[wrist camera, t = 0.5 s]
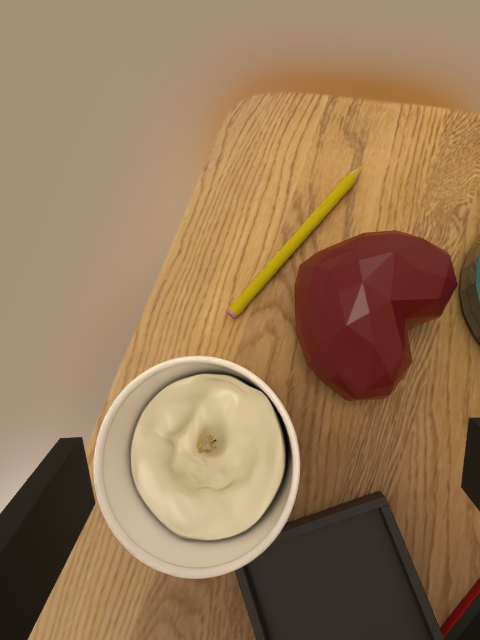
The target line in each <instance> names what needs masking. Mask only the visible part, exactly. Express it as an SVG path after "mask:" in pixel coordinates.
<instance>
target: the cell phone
mask: <svg viewBox="0 0 480 640" xmlns="http://www.w3.org/2000/svg"><path fill="white" fill-rule="evenodd" d="M440 630H441V633H442V635H443V638H444V640H480V579H479V580H478V581H477V583H476V584H475V585H474V586H473V588H472V589H471V590H470V591H469V593H468V594H467V595H466V596H465V598H464V599H463V600H462V601H461V603H460V604H459V605H458V606H457V608H456V609H455V610H454V611H453V613H452V614H451V615H450V616H449V618H448V619H447V620H446V621H445V623H444V624H443V625H442V626H441V628H440Z"/></svg>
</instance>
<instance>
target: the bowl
mask: <svg viewBox="0 0 480 640" xmlns="http://www.w3.org/2000/svg"><path fill="white" fill-rule="evenodd" d="M460 293H461V294H460V297H461V302H462V306H463V311H464V316H465V318H466V320H467V322H468V324H469V326H470V328H471V329H472V331H473V333H474V335H475V337H476V338H477V340H478V341H479V342H480V239H479V240H478V241H477V242H476V244H475V245H474V246H473V247H472V249H471V250H470V251H469V254H468V256H467V259H466V261H465V264H464V266H463V269H462V274H461V287H460Z"/></svg>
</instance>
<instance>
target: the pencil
mask: <svg viewBox="0 0 480 640" xmlns="http://www.w3.org/2000/svg"><path fill="white" fill-rule="evenodd" d="M361 168H362V166H361V167H359V168H357V169H356V170H354V171H352V172H350V173H349V174H347V175H346V176H345V177H344V178H343V179H342V180H341V182H340V183H339V184H338V185H337V186H336V187H335V188H334V189H333V191H332V192H331V193H330V194H329V195H328V196H327V197H326V198H325V200H324V201H323V202H322V203H321V204H320V205H319V206H318V208H317V209H316V210H315V211H314V212H313V213H312V214H311V215H310V217H309V218H308V219H307V220H306V221H305V222H304V223H303V224H302V226H301V227H300V228H299V229H298V230H297V231H296V232H295V233H294V235H293V236H292V237H291V238H290V239H289V240H288V241H287V243H286V244H285V245H284V246H283V247H282V248H281V249H280V250H279V252H278V253H277V254H276V255H275V256H274V257H273V258H272V259H271V261H270V262H269V263H268V264H267V265H266V266H265V267H264V268H263V270H262V271H261V272H260V273H259V274H258V275H257V276H256V277H255V279H254V280H253V281H252V282H251V283H250V284H249V285H248V287H247V288H246V289H245V290H244V291H243V292H242V293H241V294H240V296H239V297H238V298H237V299H236V300H235V301H234V302H233V303H232V305H231V306H230V307H229V308H228V309H227V310H226V311H227V312H228V313H229V314H230V315H231V316H232V317H233V318H236V317H237V316H238V315H239V314H240V313H241V312H242V311H243V310H244V308H245V307H246V306H247V305H248V304H249V303H250V302H251V300H252V299H253V298H254V297H255V296H256V295H257V294H258V293H259V291H260V290H261V289H262V288H263V287H264V286H265V285H266V283H267V282H268V281H269V280H270V279H271V278H272V277H273V276H274V274H275V273H276V272H277V271H278V270H279V269H280V268H281V266H282V265H283V264H284V263H285V262H286V261H287V260H288V259H289V257H290V256H291V255H292V254H293V253H294V252H295V251H296V249H297V248H298V247H299V246H300V245H301V244H302V243H303V241H304V240H305V239H306V238H307V237H308V236H309V235H310V234H311V232H312V231H313V230H314V229H315V228H316V227H317V226H318V224H319V223H320V222H321V221H322V220H323V219H324V218H325V217H326V215H327V214H328V213H329V212H330V211H331V210H332V209H333V207H334V206H335V205H336V204H337V203H338V202H339V201H340V200H341V198H342V197H343V196H344V195H345V194H346V193H347V192H348V190H349V189H350V188H351V187H352V186H353V185H354V184H355V182H356V181H357V178H358V176H359V173H360V171H361Z"/></svg>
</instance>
